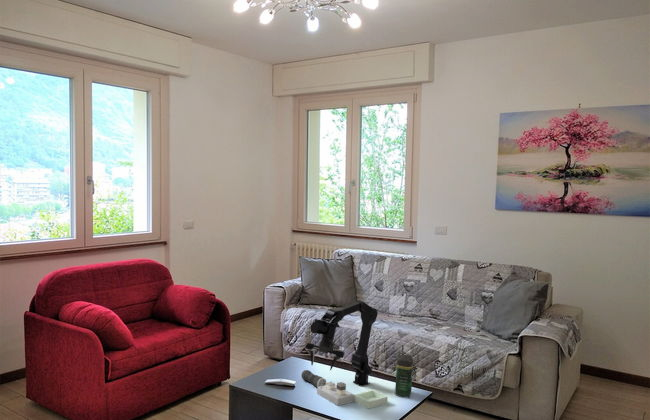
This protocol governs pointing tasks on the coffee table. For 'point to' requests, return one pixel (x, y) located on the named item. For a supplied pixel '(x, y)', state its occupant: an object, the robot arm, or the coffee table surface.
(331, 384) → the block
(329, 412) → the coffee table surface
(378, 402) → the parts tray
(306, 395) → the coffee table surface
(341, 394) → the block
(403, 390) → the coffee jar
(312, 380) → the flashlight
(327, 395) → the fuse block
